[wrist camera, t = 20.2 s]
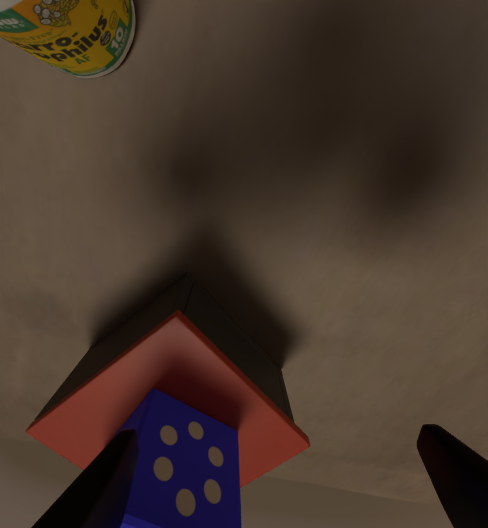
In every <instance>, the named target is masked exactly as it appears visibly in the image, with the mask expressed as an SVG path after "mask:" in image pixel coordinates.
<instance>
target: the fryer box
mask: <svg viewBox="0 0 488 528" xmlns="http://www.w3.org/2000/svg"><path fill="white" fill-rule="evenodd" d="M177 310H180V311H181V312H182V313H183V314H184V315H185V316H186V317H187V318H188V319H189V320H190V321H191V322H192V323H193V324H194V325H195V326H196V327H197V328H198V329H199V330H200V331H201V332H202V333H203V334H204V335H205V336H206V337H207V338H208V339H209V340H210V341H211V342H212V343H213V344H214V345H215V346H216V347H217V348H218V349H219V350H220V351H221V352H222V353H223V354H224V355H225V356H226V357H227V358H228V359H229V360H230V361H231V362H232V363H234V364H235V365H236V366H237V367H238V368H239V369H240V370H241V371H242V372H243V373H244V374H245V375H246V376H247V377H248V378H249V379H250V380H251V381H252V382H253V383H254V384H255V385H256V386H257V387H258V388H259V389H260V390H261V391H262V392H263V393H264V394H265V395H266V396H267V397H268V398H269V399H270V400H271V401H272V402H273V403H274V404H275V405H276V406H277V407H278V408H279V409H280V410H281V411H282V412H283V413H284V414H285V415H286V416H287V417H288V418H289V419H291V420H292V421H293V422H294V420H293V416H292V412H291V408H290V404H289V400H288V396H287V392H286V388H285V384H284V380H283V375H282V371H281V369H280V368H279V367H278V366H277V365H276V364H275V363H274V362H273V361H272V360H271V359H270V358H269V357H268V356H267V355H266V354H265V352H264V351H263V350H262V349H261V348H260V347H259V346H258V345H257V344H256V343H255V342H254V341H253V340H252V339H251V338H250V337H249V336H248V335H247V333H246V332H245V331H244V330H243V329H242V328H241V327H240V326H239V325H238V324H237V323H236V322H235V321H234V320H233V319H232V318H231V317H230V316H229V314H228V313H227V312H226V311H225V310H224V309H223V308H222V307H221V306H220V305H219V304H218V303H217V302H216V301H215V300H214V299H213V298H212V297H211V295H210V294H209V293H208V292H207V291H206V290H205V289H204V288H203V287H202V286H201V285H200V284H199V283H198V282H197V281H196V280H195V279H194V278H193V276H192V275H191V274H190V273H189V272H186V273H185V274H183V275H182V276H181V277H180V278H178V279H177V280H176V281H175V282H173V283H172V284H171V285H170V286H168V287H167V288H166V289H165V290H163V291H162V292H161V293H160V294H158V295H157V296H156V297H155V298H153V299H152V300H151V301H150V302H148V303H147V304H146V305H145V306H143V307H142V308H141V309H140V310H138V311H137V312H136V313H135V314H133V315H132V316H131V317H130V318H128V319H127V320H126V321H125V322H123V323H122V324H121V325H120V326H118V327H117V328H116V329H115V330H113V331H112V332H111V333H110V334H108V335H107V336H106V337H105V338H103V339H102V340H101V341H100V342H98V343H97V344H96V345H95V346H93V347H92V348H91V349H90V350H88V352H87V353H86V354H85V356H84V357H83V358H82V359H81V361H80V362H79V363H78V365H77V366H76V367H75V368H74V370H73V371H72V372H71V373H70V375H69V376H68V377H67V379H66V380H65V381H64V382H63V384H62V385H61V386H60V388H59V389H58V390H57V391H56V393H55V394H54V395H53V396H52V398H51V399H50V400H49V402H48V403H47V404H46V405H45V407H44V408H43V409H42V411H41V412H40V413H39V414H38V416H37V417H36V418H35V420H36V419H37V418H38V417H40V416H41V415H42V414H44V413H45V412H46V411H48V410H49V409H50V408H51V407H53V406H54V405H55V404H57V403H58V402H59V401H60V400H62V399H63V398H64V397H66V396H67V395H68V394H69V393H71V392H72V391H73V390H75V389H76V388H77V387H78V386H80V385H81V384H82V383H84V382H85V381H86V380H88V379H89V378H90V377H91V376H93V375H94V374H95V373H97V372H98V371H99V370H100V369H102V368H103V367H104V366H106V365H107V364H108V363H109V362H111V361H112V360H113V359H115V358H116V357H117V356H118V355H120V354H121V353H122V352H124V351H125V350H126V349H128V348H129V347H130V346H131V345H133V344H134V343H135V342H137V341H138V340H139V339H140V338H142V337H143V336H144V335H146V334H147V333H148V332H149V331H151V330H152V329H153V328H155V327H156V326H157V325H158V324H160V323H161V322H162V321H164V320H165V319H166V318H168V317H169V316H170V315H171V314H173V313H174V312H175V311H177Z"/></svg>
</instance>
